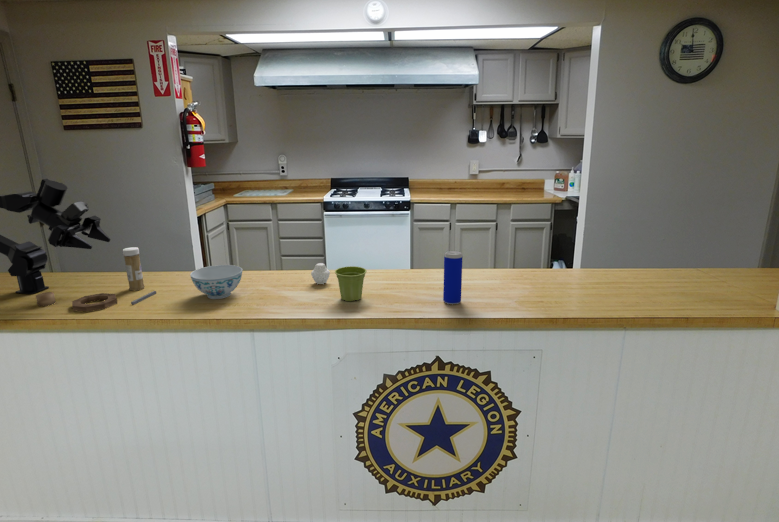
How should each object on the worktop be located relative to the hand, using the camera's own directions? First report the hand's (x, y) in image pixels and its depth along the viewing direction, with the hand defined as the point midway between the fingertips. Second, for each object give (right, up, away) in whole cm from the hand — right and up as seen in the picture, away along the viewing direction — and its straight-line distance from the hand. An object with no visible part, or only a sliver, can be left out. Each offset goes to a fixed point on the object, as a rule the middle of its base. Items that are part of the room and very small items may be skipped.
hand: (100, 244), depth 148 cm
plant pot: (+78, -17, -4) cm, 80 cm away
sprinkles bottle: (+8, -14, +6) cm, 18 cm away
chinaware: (+37, -16, -1) cm, 40 cm away
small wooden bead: (-12, -18, -6) cm, 23 cm away
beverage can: (+108, -17, -9) cm, 110 cm away
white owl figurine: (+67, -13, +10) cm, 69 cm away
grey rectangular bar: (+15, -17, -3) cm, 23 cm away
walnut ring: (+3, -18, -8) cm, 20 cm away
